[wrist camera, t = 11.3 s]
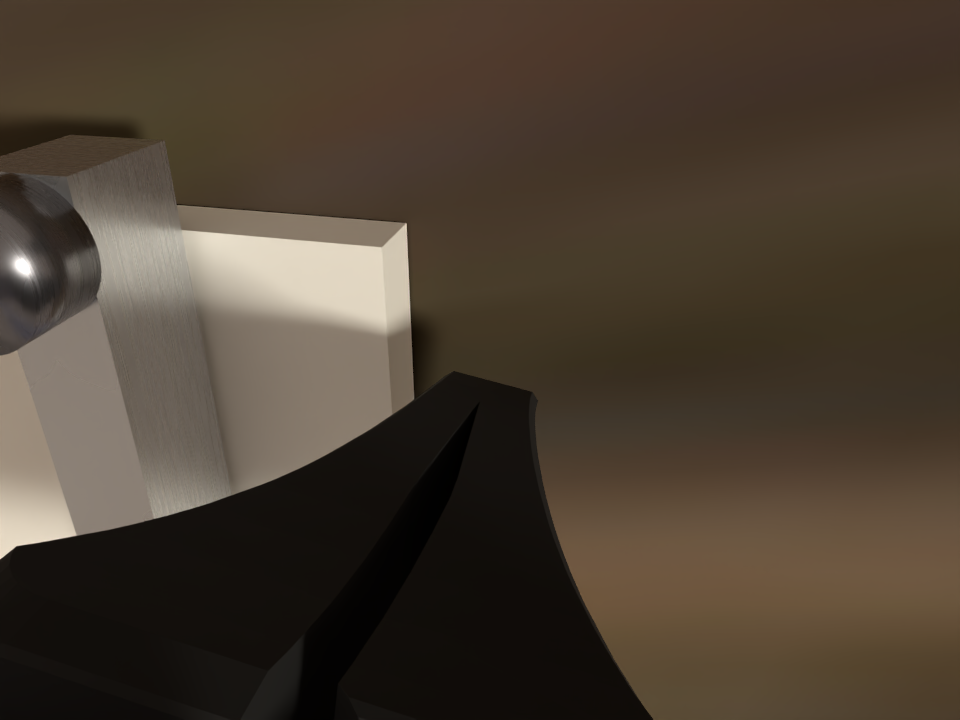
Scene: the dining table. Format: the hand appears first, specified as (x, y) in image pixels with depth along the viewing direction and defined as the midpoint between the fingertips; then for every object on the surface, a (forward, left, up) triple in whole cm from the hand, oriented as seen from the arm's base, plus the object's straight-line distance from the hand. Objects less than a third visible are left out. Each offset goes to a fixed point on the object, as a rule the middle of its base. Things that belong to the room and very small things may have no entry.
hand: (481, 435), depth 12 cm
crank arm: (-2, +6, -1) cm, 6 cm away
